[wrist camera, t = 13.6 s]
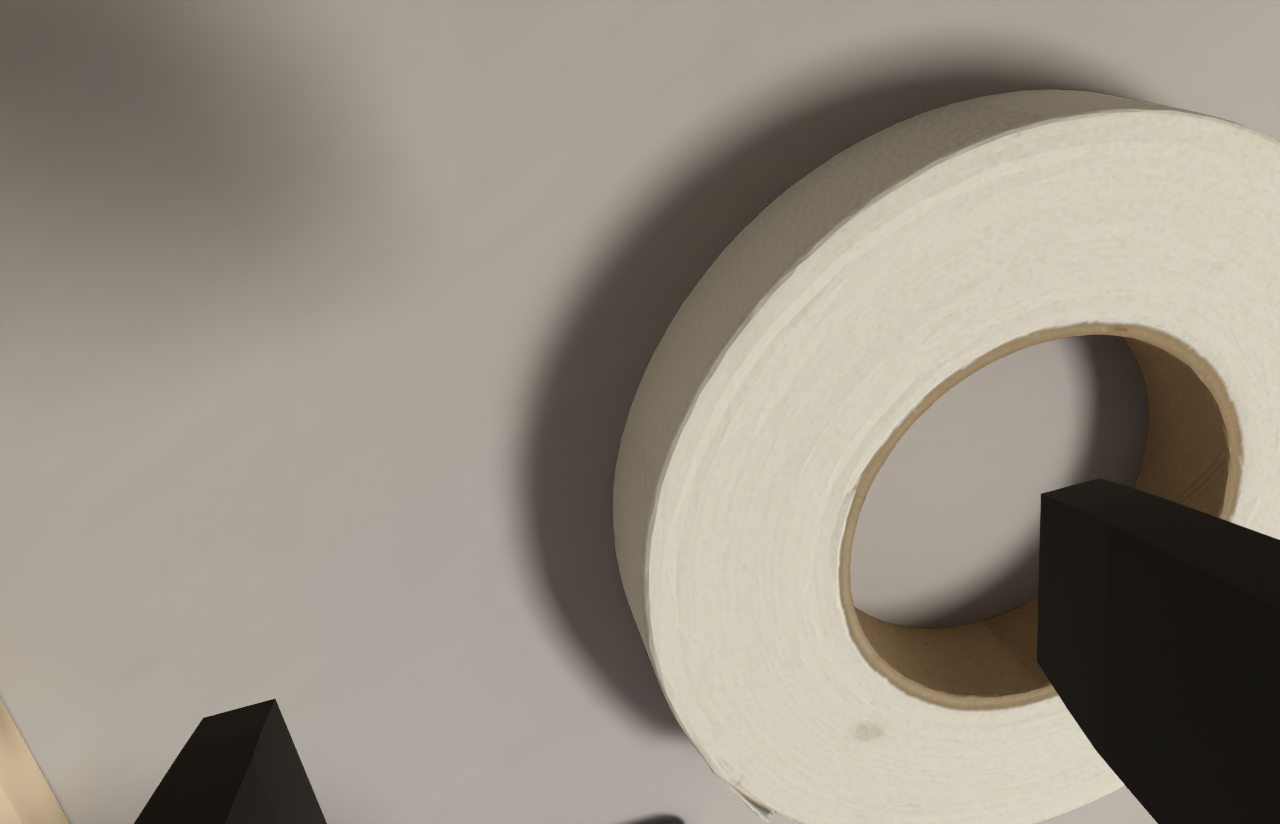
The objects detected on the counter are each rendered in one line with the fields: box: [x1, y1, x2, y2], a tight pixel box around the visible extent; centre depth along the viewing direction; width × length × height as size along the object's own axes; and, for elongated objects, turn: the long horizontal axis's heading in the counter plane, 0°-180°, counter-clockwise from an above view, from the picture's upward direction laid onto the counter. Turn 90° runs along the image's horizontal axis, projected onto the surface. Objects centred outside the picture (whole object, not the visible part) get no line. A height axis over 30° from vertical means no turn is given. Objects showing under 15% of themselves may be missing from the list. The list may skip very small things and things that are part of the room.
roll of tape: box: [613, 89, 1280, 824], centre depth 20 cm, size 16×15×3 cm
